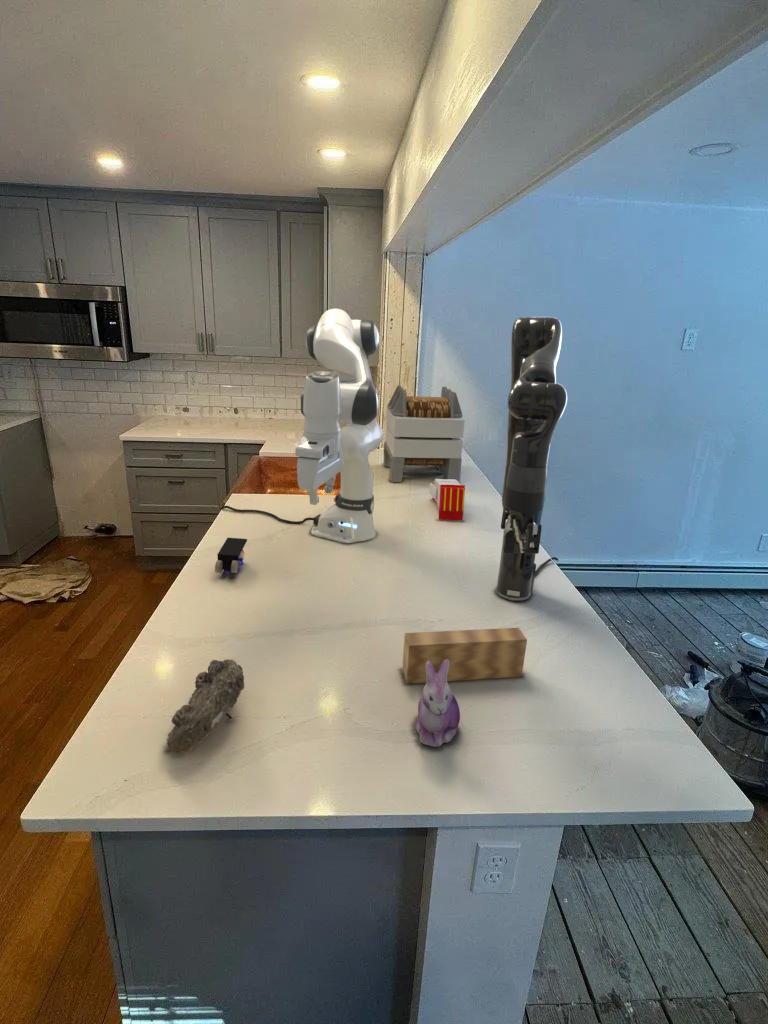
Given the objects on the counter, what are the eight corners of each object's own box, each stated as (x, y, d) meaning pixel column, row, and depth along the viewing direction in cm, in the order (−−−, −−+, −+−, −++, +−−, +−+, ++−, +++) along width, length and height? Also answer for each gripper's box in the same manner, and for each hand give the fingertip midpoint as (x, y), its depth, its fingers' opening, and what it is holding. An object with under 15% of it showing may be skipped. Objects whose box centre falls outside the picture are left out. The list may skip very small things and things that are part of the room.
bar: (406, 683, 120) (409, 645, 117) (402, 669, 125) (404, 632, 122) (521, 676, 124) (527, 639, 121) (513, 663, 129) (518, 627, 126)
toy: (456, 474, 239) (469, 486, 210) (455, 506, 242) (467, 521, 213) (428, 474, 239) (436, 485, 210) (426, 505, 242) (435, 520, 212)
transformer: (382, 463, 289) (386, 382, 275) (445, 464, 293) (451, 384, 279) (390, 482, 257) (394, 392, 243) (460, 483, 261) (468, 394, 247)
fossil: (192, 660, 117) (244, 628, 112) (224, 691, 120) (276, 661, 115) (142, 746, 98) (202, 712, 93) (182, 779, 101) (242, 748, 96)
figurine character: (238, 584, 162) (249, 557, 175) (236, 562, 158) (247, 536, 172) (215, 584, 161) (227, 556, 175) (212, 561, 158) (225, 535, 171)
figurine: (430, 757, 101) (436, 686, 95) (402, 721, 109) (406, 654, 104) (473, 741, 105) (481, 672, 100) (443, 707, 113) (449, 643, 108)
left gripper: (325, 433, 144) (325, 485, 149) (291, 450, 125) (292, 509, 130) (349, 435, 143) (348, 487, 147) (318, 453, 124) (318, 512, 129)
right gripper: (559, 496, 105) (547, 575, 111) (529, 475, 119) (519, 546, 124) (521, 497, 104) (511, 576, 110) (495, 475, 117) (487, 547, 123)
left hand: (321, 498), depth 139 cm, fingers open, 8 cm apart
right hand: (515, 560), depth 117 cm, fingers open, 8 cm apart
